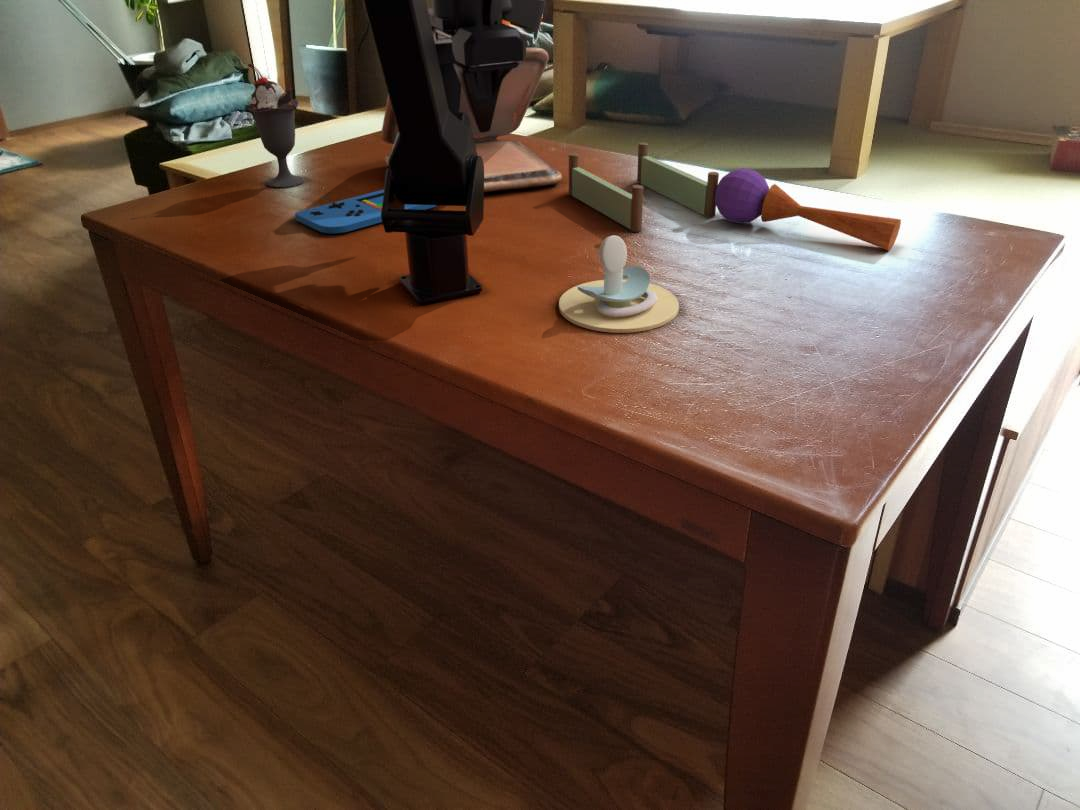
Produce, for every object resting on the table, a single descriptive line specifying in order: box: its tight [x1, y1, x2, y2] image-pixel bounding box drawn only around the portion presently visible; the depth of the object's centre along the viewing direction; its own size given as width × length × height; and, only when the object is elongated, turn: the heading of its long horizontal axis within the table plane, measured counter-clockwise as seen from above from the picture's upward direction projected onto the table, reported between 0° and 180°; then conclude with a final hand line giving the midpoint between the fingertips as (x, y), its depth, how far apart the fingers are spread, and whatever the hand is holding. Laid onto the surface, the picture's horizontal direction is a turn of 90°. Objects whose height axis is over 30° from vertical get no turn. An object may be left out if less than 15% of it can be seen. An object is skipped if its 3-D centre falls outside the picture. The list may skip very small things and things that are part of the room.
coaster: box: [558, 278, 680, 334], centre depth 80 cm, size 11×11×1 cm
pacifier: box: [578, 234, 657, 316], centre depth 78 cm, size 7×6×6 cm
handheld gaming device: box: [294, 189, 437, 235], centre depth 103 cm, size 8×1×15 cm
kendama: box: [715, 167, 902, 252], centre depth 94 cm, size 6×6×20 cm
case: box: [380, 47, 563, 193], centre depth 113 cm, size 20×21×16 cm
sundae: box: [244, 62, 306, 189], centre depth 112 cm, size 7×7×15 cm
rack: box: [568, 141, 720, 233], centre depth 103 cm, size 16×11×5 cm
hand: (468, 121), depth 92 cm, fingers open, 9 cm apart
